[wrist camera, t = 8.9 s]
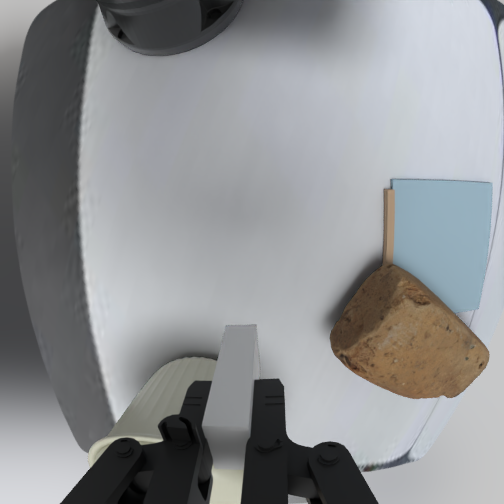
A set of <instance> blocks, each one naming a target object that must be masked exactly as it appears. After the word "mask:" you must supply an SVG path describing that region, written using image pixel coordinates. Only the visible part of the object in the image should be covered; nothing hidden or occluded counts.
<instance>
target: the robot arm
mask: <svg viewBox="0 0 504 504" xmlns="http://www.w3.org/2000/svg"><path fill="white" fill-rule="evenodd" d="M96 1H97V2H98V3H99V6H100V9H101V12H102V15H103V18H104V21H105V24H106V26H107V28H108V30H109V32H110V33H111V34H112V35H113V37H114V38H115V39H116V40H118V41H119V42H120V43H122V44H123V45H124V46H126V47H127V48H129V49H131V50H133V51H135V52H138V53H141V54H145V55H153V56H164V55H172V54H177V53H181V52H185V51H188V50H191V49H193V48H196V47H198V46H200V45H202V44H204V43H206V42H208V41H209V40H211V39H212V38H214V37H215V36H217V35H218V34H219V33H221V32H222V31H223V30H224V29H225V28H226V27H227V26H228V25H229V24H230V23H231V22H232V20H233V19H234V18H235V16H236V15H237V13H238V11H239V9H240V7H241V4H242V1H243V0H96ZM158 429H159V431H160V433H161V436H162V438H163V441H161V442H158V443H152V444H145V445H141V444H140V443H139V441H137V440H135V439H134V438H129V437H125V438H119V439H117V440H115V441H114V442H112V443H111V444H110V445H109V446H108V448H107V449H106V450H105V451H104V452H103V454H102V455H101V456H100V457H99V458H98V459H97V461H96V462H95V463H94V464H93V465H92V467H91V468H90V469H89V470H88V471H87V473H86V474H85V475H84V476H83V477H82V479H81V480H80V481H79V482H78V484H76V486H75V487H74V488H73V489H72V490H71V492H70V493H69V494H68V495H67V496H66V497H65V499H64V500H63V501H62V502H61V503H60V504H209V503H210V497H211V491H212V485H213V475H212V472H211V471H212V465H213V464H214V467H215V469H230V470H244V472H243V483H242V493H241V504H288V494H290V495H294V496H299V497H304V498H306V500H307V502H308V504H378V502H377V500H376V498H375V497H374V495H373V493H372V492H371V490H370V488H369V486H368V484H367V483H366V481H365V479H364V477H363V476H362V474H361V472H360V470H359V469H358V467H357V465H356V463H355V461H354V460H353V458H352V456H351V454H350V453H349V451H348V450H347V449H346V447H345V446H344V445H341V444H339V443H337V442H322V443H320V444H318V445H316V446H314V447H313V448H311V447H305V446H301V445H298V444H296V443H294V442H292V441H291V440H290V439H289V438H288V436H287V434H286V422H285V399H284V386H283V384H282V383H281V382H280V380H279V379H260V360H259V349H258V337H257V326H256V325H231V326H226V327H225V331H224V335H223V339H222V343H221V347H220V351H219V355H218V360H217V364H216V368H215V372H214V376H213V380H212V381H199V380H195V381H194V382H193V383H192V384H191V385H190V386H189V387H188V389H187V392H186V395H185V398H184V401H183V405H182V407H181V410H180V413H179V414H174V415H170V416H167V417H165V418H164V419H163V420H161V421H160V423H159V424H158Z"/></svg>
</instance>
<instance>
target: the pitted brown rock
mask: <svg viewBox="0 0 504 504" xmlns="http://www.w3.org/2000/svg"><path fill="white" fill-rule="evenodd" d="M330 342H331V348H332V350H333V353H334V355H335V356H336V357H337V358H338V359H339V360H340V361H341V362H342V363H343V364H344V365H345V366H346V367H347V368H348V369H350V370H351V371H352V372H354V373H355V374H357V375H359V376H360V377H362V378H364V379H366V380H367V381H369V382H371V383H373V384H375V385H377V386H379V387H381V388H384V389H386V390H389V391H391V392H393V393H395V394H398V395H401V396H404V397H408V398H413V399H419V398H433V397H435V398H437V397H439V396H441V395H444V396H446V397H447V398H453V397H456V396H457V395H459V394H460V393H461V392H463V391H464V390H465V389H466V388H467V387H468V386H469V385H470V384H471V383H472V382H473V381H474V380H475V379H476V378H477V377H478V376H479V375H480V374H481V372H482V371H483V370H484V369H485V368H486V366H487V363H488V361H489V351H488V349H487V348H486V346H485V345H484V344H483V342H482V341H481V340H480V339H479V338H478V337H477V336H476V335H475V334H474V333H473V332H472V331H471V330H470V329H469V328H468V327H467V326H466V325H465V324H464V323H463V322H462V321H461V320H460V318H459V317H458V316H456V315H455V313H454V312H453V311H452V310H451V309H450V308H449V307H448V306H447V305H446V304H445V303H444V302H443V301H442V300H441V299H440V298H439V297H438V296H437V295H435V294H434V293H433V292H432V291H431V290H430V289H429V288H428V287H427V286H426V285H425V284H423V283H422V282H421V281H420V280H419V279H418V278H416V277H415V276H414V275H412V274H411V273H409V272H408V271H406V270H404V269H402V268H400V267H399V266H397V265H394V264H389V263H387V264H385V265H383V266H381V267H380V268H378V269H377V270H376V271H375V272H374V273H372V274H371V275H370V276H369V277H368V278H367V279H366V280H365V281H364V283H363V284H362V285H361V286H360V288H359V289H358V291H357V292H356V294H355V295H354V296H353V297H352V299H351V300H350V301H349V303H348V304H347V306H346V307H345V309H344V311H343V313H342V315H341V317H340V319H339V321H337V322H336V324H335V326H334V328H333V329H332V331H331V334H330Z"/></svg>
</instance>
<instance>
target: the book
mask: <svg viewBox="0 0 504 504" xmlns="http://www.w3.org/2000/svg"><path fill="white" fill-rule="evenodd" d="M492 184H493V183H486V182H469V181H448V180H413V179H391V189H384V245H383V265H385V264H387V263H389V264H394V265H397V266H399V267H400V268H402V269H404V270H406V271H408V272H409V273H411V274H412V275H414V276H415V277H416V278H418V279H419V280H420V281H421V282H422V283H423V284H425V285H426V286H427V287H428V288H429V289H430V290H431V291H432V292H433V293H434V294H435V295H437V296H438V297H439V298H440V299H441V300H442V301H443V302H444V303H445V304H446V305H447V306H448V307H449V308H450V309H451V310H452V311H453V312H454V313H459V312H465V311H471V310H476V309H479V304H480V299H481V294H482V288H483V283H484V277H485V270H486V264H487V256H488V248H489V238H490V227H491V213H492Z"/></svg>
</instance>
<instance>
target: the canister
mask: <svg viewBox="0 0 504 504" xmlns="http://www.w3.org/2000/svg"><path fill="white" fill-rule="evenodd" d="M216 364H217V361H216V360H213V359H211V358H210V359H208V358H204V357H191V358H188V357H185V358H183V359H176V360H175V361H171V362H169V363H167V364H166V365H164V366H162V367H161V368H160V369H159V370H158V371H157V372H155V373H154V374H153V376H152V377H151V378H150V379H149V380H148V382H147V383H146V384H145V385H144V387H143V388H142V389H141V391H140V392H139V393H138V394H137V396H136V397H135V398H134V400H133V401H132V402H131V404H130V405H129V407H128V408H127V409H126V411H125V412H124V414H123V415H122V416H121V418H120V419H119V420H118V422H117V423H116V424H115V426H114V427H113V429H112V430H111V431H110V433H109V434H108V436H107V437H104V438H102V439H100V440H99V441H97V442H96V443H94V444H93V445H92V447H91V448H90V450H89V453H88V462H89V466H90V468H91V467H92V465H93V464H94V463H95V462H96V461H97V459H98V458H99V457H100V456H101V455H102V454H103V452H104V451H105V450H106V449H107V448H108V446H109V445H110V444H111V443H112V442H114V441H115V440H117V439H119V438H125V437H129V438H134V439H135V440H137V441H139V443H140V444H141V445H145V444H152V443H158V442H161V441H163V438H162V436H161V433H160V431H159V429H158V424H159V423H160V421H161V420H163V419H164V418H165V417H167V416H170V415H174V414H179V413H180V410H181V407H182V405H183V401H184V398H185V395H186V392H187V389H188V387H189V386H190V385H191V384H192V383H193V382H194V381H195V380H199V381H212V380H213V376H214V372H215V368H216ZM211 472H212V475H213V485H212V491H211V497H210V503H209V504H241V493H242V483H243V472H244V470H230V469H215V467H214V464H213V465H212V471H211Z"/></svg>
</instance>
